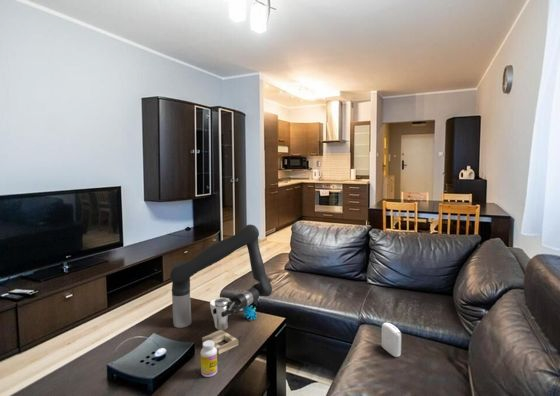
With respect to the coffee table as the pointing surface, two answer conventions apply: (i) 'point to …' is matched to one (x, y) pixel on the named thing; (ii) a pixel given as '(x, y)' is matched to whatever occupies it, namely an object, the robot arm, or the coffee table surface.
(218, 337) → the jig
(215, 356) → the supplement bottle
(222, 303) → the salt shaker
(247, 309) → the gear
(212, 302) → the cup
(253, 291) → the robot arm
